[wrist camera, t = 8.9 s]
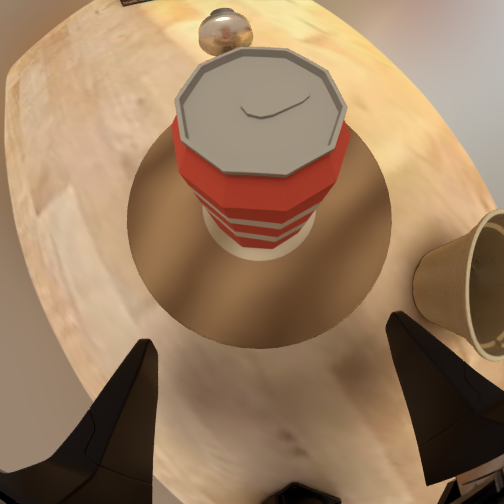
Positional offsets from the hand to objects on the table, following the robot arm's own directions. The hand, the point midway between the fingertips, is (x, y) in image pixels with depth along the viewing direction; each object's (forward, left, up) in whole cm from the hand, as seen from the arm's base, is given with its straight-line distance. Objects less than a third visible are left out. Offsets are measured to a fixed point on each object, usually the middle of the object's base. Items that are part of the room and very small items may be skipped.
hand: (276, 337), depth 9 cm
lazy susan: (+5, -5, -10) cm, 13 cm away
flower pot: (-11, -10, -10) cm, 18 cm away
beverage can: (+5, -5, -9) cm, 12 cm away
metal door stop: (+14, -13, -10) cm, 22 cm away
